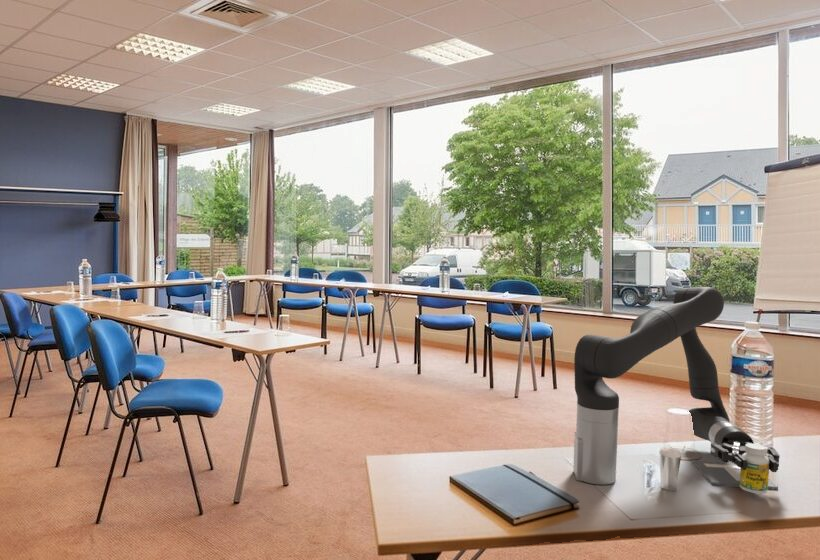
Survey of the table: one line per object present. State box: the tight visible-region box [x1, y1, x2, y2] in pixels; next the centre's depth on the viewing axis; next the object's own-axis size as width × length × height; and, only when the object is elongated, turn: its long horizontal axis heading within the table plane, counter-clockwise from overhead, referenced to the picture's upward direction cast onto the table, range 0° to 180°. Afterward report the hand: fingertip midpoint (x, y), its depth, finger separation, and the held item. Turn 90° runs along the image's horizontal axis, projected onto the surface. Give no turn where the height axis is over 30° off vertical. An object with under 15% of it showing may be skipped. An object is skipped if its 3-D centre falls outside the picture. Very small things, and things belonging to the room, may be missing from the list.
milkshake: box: [658, 445, 686, 492], centre depth 133 cm, size 4×5×10 cm
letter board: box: [692, 459, 779, 491], centre depth 142 cm, size 14×14×1 cm
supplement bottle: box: [739, 443, 770, 495], centre depth 130 cm, size 5×5×10 cm
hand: (760, 466), depth 127 cm, fingers closed on supplement bottle, 5 cm apart
